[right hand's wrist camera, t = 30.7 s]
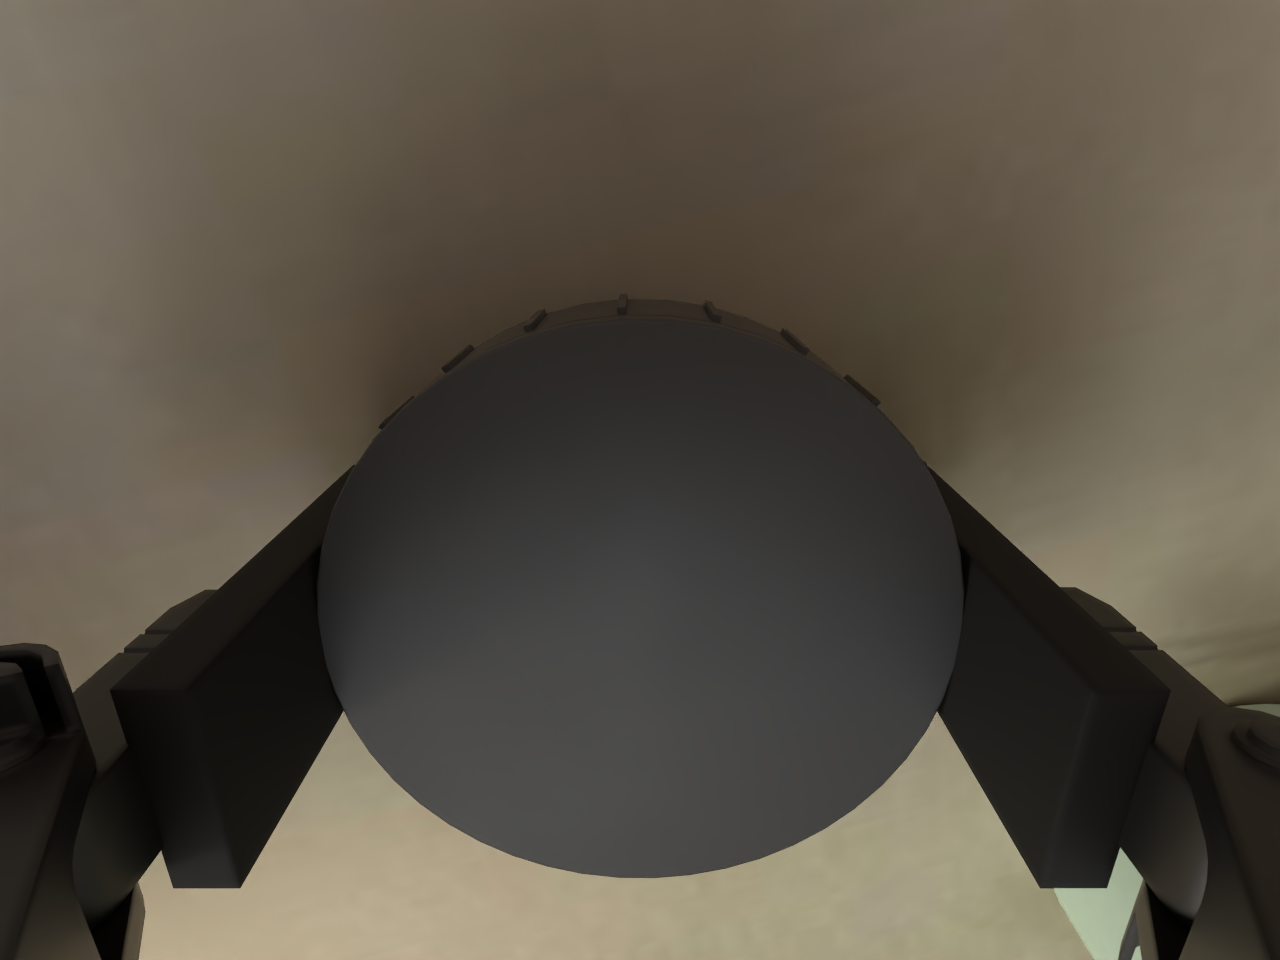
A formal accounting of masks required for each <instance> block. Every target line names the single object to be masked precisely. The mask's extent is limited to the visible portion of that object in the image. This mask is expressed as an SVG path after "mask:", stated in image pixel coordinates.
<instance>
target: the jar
mask: <svg viewBox="0 0 1280 960" xmlns="http://www.w3.org/2000/svg"><path fill="white" fill-rule="evenodd" d="M1234 707H1238V708H1244V709H1251V710H1258V711H1263V712H1266V713H1269V714H1272V715H1275V716H1278V717H1280V704H1253V705H1240V706H1234ZM1142 881H1143V877H1142V876H1141V875H1140V873H1139V872H1138V871H1137V869H1136V868H1135V866H1134V865H1133V864H1132V862H1131V861H1130V860H1129V858H1128V857H1127V856H1126V854H1125V853H1124V852H1123V850H1122V849H1121V848H1120V850H1119V853H1118V856H1117V859H1116V862H1115V865H1114V868H1113V871H1112V875H1111V878H1110V881H1109V884H1108V887H1107V888H1053V889H1054V892H1055V894H1056V896H1057V899H1058V901H1059V903H1060V905H1061V906H1062V908H1063V910H1064V911H1065V913H1066V915H1067V916H1068V918H1069V920H1070V921H1071V923H1072V924H1073V926H1074V928H1075V929H1076V931H1077V933H1078V934H1079V936H1080V938H1081V939H1082V941H1083V943H1084V944H1085V946H1086V948H1087V949H1088V951H1089V952H1090V954H1091V956H1092V957H1093V959H1094V960H1118V957H1119V951H1120V945H1121V941H1122V939H1123V936H1124V933H1125V930H1126V927H1127V924H1128V921H1129V918H1130V915H1131V913H1132V910H1133V907H1134V904H1135V901H1136V898H1137V895H1138V892H1139V889H1140V887H1141V884H1142ZM1131 960H1142V957H1141V950H1140V946H1138V947H1136V948H1135V951H1134V954H1133V957H1132V959H1131Z"/></svg>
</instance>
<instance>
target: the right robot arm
mask: <svg viewBox="0 0 1280 960" xmlns="http://www.w3.org/2000/svg"><path fill="white" fill-rule="evenodd" d="M354 467H355V465H353V466H352V467H351V468H350V469H349V470H348V471H347V472H345V473H344V474H343V475H342V476H341V477H340V478H339V479H338V480H337V481H336V482H335V483H334V484H332V485H331V486H330V487H329V488H328V489H327V490H326V491H325V492H324V493H323V494H322V495H320V496H319V497H318V498H317V499H316V500H315V501H314V502H313V503H312V504H311V505H310V506H309V507H307V508H306V509H305V510H304V511H303V512H302V513H301V514H300V515H299V516H298V517H297V518H295V519H294V520H293V521H292V522H291V523H290V524H289V525H288V526H287V527H286V528H285V529H284V530H282V531H281V532H280V533H279V534H278V535H277V536H276V537H275V538H274V539H273V540H272V541H270V542H269V543H268V544H267V545H266V546H265V547H264V548H263V549H262V550H261V551H260V552H259V553H257V554H256V555H255V556H254V557H253V558H252V559H251V560H250V561H249V562H248V563H247V564H245V565H244V566H243V567H242V568H241V569H240V570H239V571H238V572H237V573H236V574H235V575H234V576H232V577H231V578H230V579H229V580H228V581H227V582H226V583H225V584H224V585H223V586H222V587H220V588H219V589H218V590H204V591H202V592H201V593H199V594H197V595H195V596H193V597H191V598H189V599H187V600H185V601H183V602H181V603H179V604H178V605H176V606H174V607H172V608H170V609H169V610H168V611H167V612H165V613H164V614H163V615H162V616H161V617H160V618H159V619H157V620H156V621H155V622H154V623H153V624H152V625H150V626H149V627H148V628H147V629H146V630H145V634H140V635H139V636H138V637H137V638H135V639H134V640H133V641H132V642H131V643H130V644H129V645H127V646H126V647H125V648H124V653H118V654H117V655H116V656H115V657H114V658H112V659H111V660H110V661H109V662H108V663H107V664H105V665H104V666H103V667H102V668H101V669H100V670H98V671H97V672H96V673H95V674H94V675H93V676H92V677H90V678H89V679H88V680H87V681H86V682H85V683H83V684H82V685H81V686H80V687H79V688H78V689H77V690H75V691H74V692H73V693H72V690H71V687H70V684H69V682H68V679H67V676H66V673H65V670H64V667H63V664H62V661H61V658H60V656H59V653H58V651H56V650H54V649H52V648H51V647H49V646H47V645H43V644H30V643H20V644H12V645H5V646H0V960H138V959H139V952H140V945H141V939H142V932H143V925H144V918H145V907H144V900H143V895H142V892H141V889H140V887H139V884H138V881H139V879H140V878H141V877H142V875H143V874H144V873H145V871H146V870H147V869H148V867H149V866H150V864H151V863H152V862H153V860H154V859H155V858H156V856H157V855H158V854H159V852H160V851H162V854H163V857H164V860H165V863H166V867H167V870H168V873H169V876H170V879H171V882H172V885H173V888H241V886H242V884H243V882H244V881H245V879H246V877H247V876H248V874H249V872H250V870H251V869H252V867H253V865H254V864H255V862H256V860H257V858H258V857H259V855H260V853H261V852H262V850H263V848H264V846H265V845H266V843H267V841H268V840H269V838H270V836H271V834H272V833H273V831H274V829H275V828H276V826H277V824H278V822H279V821H280V819H281V817H282V815H283V814H284V812H285V810H286V809H287V807H288V805H289V803H290V802H291V800H292V798H293V797H294V795H295V793H296V791H297V790H298V788H299V786H300V785H301V783H302V781H303V779H304V778H305V776H306V774H307V773H308V771H309V769H310V767H311V766H312V764H313V762H314V761H315V759H316V757H317V755H318V754H319V752H320V750H321V748H322V747H323V745H324V743H325V742H326V740H327V738H328V736H329V735H330V733H331V731H332V730H333V728H334V726H335V724H336V723H337V721H338V719H339V718H340V716H341V714H342V712H343V711H344V710H343V708H342V706H341V704H340V702H339V699H338V697H337V695H336V693H335V691H334V688H333V685H332V682H331V679H330V676H329V673H328V670H327V666H326V661H325V656H324V651H323V645H322V640H321V635H320V629H319V624H318V618H317V577H318V570H319V563H320V556H321V548H322V544H323V541H324V537H325V534H326V531H327V527H328V524H329V521H330V517H331V514H332V511H333V508H334V506H335V504H336V502H337V500H338V498H339V495H340V493H341V491H342V489H343V487H344V485H345V483H346V481H347V479H348V477H349V475H350V473H351V471H352V470H353V468H354ZM928 471H929V472H930V474H931V476H932V477H933V479H934V480H935V482H936V485H937V487H938V489H939V491H940V494H941V496H942V498H943V501H944V503H945V505H946V507H947V510H948V512H949V514H950V516H951V520H952V524H953V527H954V531H955V535H956V539H957V542H958V546H959V550H960V554H961V562H962V572H963V582H964V592H965V594H964V613H963V622H962V628H961V634H960V639H959V644H958V650H957V655H956V660H955V665H954V670H953V673H952V676H951V679H950V682H949V684H948V687H947V690H946V693H945V695H944V698H943V700H942V702H941V704H940V706H939V708H938V710H937V712H938V713H939V715H940V717H941V719H942V720H943V722H944V724H945V725H946V727H947V729H948V731H949V732H950V734H951V736H952V737H953V739H954V741H955V743H956V744H957V746H958V748H959V749H960V751H961V753H962V755H963V756H964V758H965V760H966V761H967V763H968V765H969V767H970V768H971V770H972V772H973V773H974V775H975V777H976V779H977V780H978V782H979V784H980V785H981V787H982V789H983V791H984V792H985V794H986V796H987V798H988V799H989V801H990V803H991V804H992V806H993V808H994V810H995V811H996V813H997V815H998V816H999V818H1000V820H1001V822H1002V823H1003V825H1004V827H1005V828H1006V830H1007V832H1008V834H1009V835H1010V837H1011V839H1012V840H1013V842H1014V844H1015V846H1016V847H1017V849H1018V851H1019V852H1020V854H1021V856H1022V858H1023V859H1024V861H1025V863H1026V864H1027V866H1028V868H1029V870H1030V871H1031V873H1032V875H1033V877H1034V878H1035V880H1036V882H1037V883H1038V885H1039V887H1040V888H1107V887H1108V884H1109V881H1110V878H1111V875H1112V871H1113V868H1114V865H1115V862H1116V859H1117V856H1118V853H1119V850H1120V848H1121V849H1122V850H1123V852H1124V853H1125V854H1126V856H1127V857H1128V858H1129V860H1130V861H1131V862H1132V864H1133V865H1134V866H1135V868H1136V869H1137V871H1138V872H1139V873H1140V875H1141V876H1142V877H1143V881H1142V884H1141V887H1140V889H1139V892H1138V895H1137V898H1136V901H1135V904H1134V907H1133V910H1132V913H1131V915H1130V918H1129V921H1128V924H1127V927H1126V930H1125V933H1124V936H1123V939H1122V941H1121V945H1120V951H1119V957H1118V960H1131V959H1132V957H1133V954H1134V951H1135V948H1136V947H1138V946H1140V950H1141V957H1142V960H1280V717H1278V716H1275V715H1272V714H1269V713H1266V712H1263V711H1258V710H1251V709H1244V708H1238V707H1228V706H1227V705H1226V704H1225V703H1223V702H1222V701H1221V700H1220V699H1219V698H1218V697H1216V696H1215V695H1214V694H1213V693H1212V692H1211V691H1210V690H1208V689H1207V688H1206V687H1205V686H1204V685H1203V684H1201V683H1200V682H1199V681H1198V680H1197V679H1196V678H1194V677H1193V676H1192V675H1191V674H1190V673H1189V672H1187V671H1186V670H1185V669H1184V668H1183V667H1182V666H1180V665H1179V664H1178V663H1177V662H1176V661H1175V660H1173V659H1172V658H1171V657H1170V656H1169V655H1168V654H1166V653H1165V652H1164V651H1163V650H1158V649H1157V645H1156V644H1155V643H1154V642H1152V641H1151V640H1150V639H1149V638H1148V637H1147V636H1145V635H1144V634H1143V633H1142V632H1137V631H1136V627H1135V626H1134V625H1133V624H1132V623H1130V622H1129V621H1128V620H1127V619H1126V618H1125V617H1123V616H1122V615H1121V614H1120V613H1119V612H1118V611H1116V610H1115V609H1114V608H1113V607H1112V606H1110V605H1108V604H1106V603H1105V602H1103V601H1101V600H1099V599H1097V598H1095V597H1093V596H1091V595H1089V594H1087V593H1085V592H1083V591H1081V590H1080V589H1078V588H1076V587H1059V586H1058V585H1057V584H1056V583H1055V582H1054V581H1052V580H1051V579H1050V578H1049V577H1048V576H1047V575H1046V574H1045V573H1044V572H1043V571H1042V570H1040V569H1039V568H1038V567H1037V566H1036V565H1035V564H1034V563H1033V562H1032V561H1031V560H1030V559H1029V558H1027V557H1026V556H1025V555H1024V554H1023V553H1022V552H1021V551H1020V550H1019V549H1018V548H1017V547H1015V546H1014V545H1013V544H1012V543H1011V542H1010V541H1009V540H1008V539H1007V538H1006V537H1005V536H1003V535H1002V534H1001V533H1000V532H999V531H998V530H997V529H996V528H995V527H994V526H993V525H992V524H990V523H989V522H988V521H987V520H986V519H985V518H984V517H983V516H982V515H981V514H980V513H978V512H977V511H976V510H975V509H974V508H973V507H972V506H971V505H970V504H969V503H968V502H967V501H965V500H964V499H963V498H962V497H961V496H960V495H959V494H958V493H957V492H956V491H955V490H953V489H952V488H951V487H950V486H949V485H948V484H947V483H946V482H945V481H944V480H943V479H942V478H940V477H939V476H938V475H937V474H936V473H935V472H934V471H933V470H932V469H931V468H930V467H929V470H928Z"/></svg>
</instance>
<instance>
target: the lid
mask: <svg viewBox="0 0 1280 960" xmlns="http://www.w3.org/2000/svg"><path fill="white" fill-rule="evenodd" d="M442 370H443V371H444V372H443V373H442V374H441V375H440V376H439V377H438V378H436V379H435V380H434V381H433V382H432V383H431V384H429V385H428V386H427V387H426V388H425V389H424V390H423V391H421V392H420V393H419V394H418V395H417V396H416V397H414V396H412V397H411V398H410V399H409V400H408V401H406V402H405V403H404V404H403V405H402V406H401V407H399V408H398V409H397V410H396V411H395V412H394V413H392V414H391V415H390V416H389V417H388V418H387V419H385V420H384V421H383V422H382V423H381V424H380V426H379V428H380V429H381V432H380V433H379V434H378V435H377V436H376V437H375V438H374V439H373V441H372V442H371V444H370V445H369V447H368V448H367V449H366V451H365V452H364V454H363V455H362V457H361V458H360V460H359V461H358V462H357V464H356V465H355V467H354V468H353V470H352V471H351V473H350V475H349V477H348V479H347V481H346V483H345V485H344V487H343V489H342V491H341V493H340V495H339V498H338V500H337V502H336V504H335V506H334V508H333V511H332V514H331V517H330V521H329V524H328V527H327V531H326V534H325V537H324V541H323V544H322V548H321V556H320V563H319V570H318V577H317V618H318V624H319V629H320V635H321V640H322V645H323V651H324V656H325V661H326V666H327V670H328V673H329V676H330V679H331V682H332V685H333V688H334V691H335V693H336V695H337V697H338V699H339V702H340V704H341V706H342V708H343V710H344V712H345V714H346V716H347V718H348V720H349V722H350V724H351V725H352V727H353V728H354V730H355V731H356V733H357V734H358V736H359V737H360V739H361V740H362V742H363V743H364V745H365V746H366V748H367V749H368V751H369V752H370V753H371V755H372V756H373V757H374V758H375V759H376V760H377V762H378V763H379V764H380V765H381V766H382V767H383V768H384V770H385V771H386V772H387V773H388V774H389V775H390V776H391V778H392V779H393V780H394V781H395V782H396V783H398V784H399V785H400V786H401V787H402V788H403V789H404V790H405V791H406V792H408V793H409V794H410V795H411V796H412V797H413V798H414V799H415V800H416V801H418V802H419V803H420V804H421V805H423V806H424V807H425V808H427V809H428V810H430V811H431V812H432V813H434V814H435V815H437V816H438V817H439V818H441V819H442V820H444V821H445V822H446V823H448V824H449V825H451V826H453V827H455V828H457V829H458V830H460V831H462V832H464V833H466V834H467V835H469V836H471V837H473V838H474V839H476V840H478V841H480V842H482V843H484V844H487V845H489V846H491V847H494V848H496V849H498V850H501V851H503V852H505V853H508V854H510V855H512V856H516V857H519V858H522V859H525V860H528V861H532V862H535V863H538V864H541V865H544V866H548V867H553V868H557V869H562V870H567V871H572V872H577V873H581V874H590V875H599V876H608V877H618V878H660V877H672V876H683V875H693V874H698V873H703V872H709V871H714V870H720V869H725V868H729V867H732V866H736V865H739V864H743V863H746V862H750V861H753V860H757V859H760V858H763V857H765V856H768V855H770V854H773V853H775V852H778V851H780V850H783V849H785V848H788V847H790V846H793V845H795V844H797V843H799V842H801V841H802V840H804V839H806V838H808V837H810V836H812V835H814V834H816V833H818V832H820V831H821V830H823V829H825V828H827V827H828V826H830V825H831V824H833V823H834V822H836V821H837V820H839V819H840V818H842V817H843V816H844V815H846V814H847V813H849V812H850V811H852V810H853V809H855V808H856V807H857V806H858V805H860V804H861V803H862V802H863V801H864V800H865V799H867V798H868V797H869V796H870V795H871V794H872V793H874V792H875V791H876V790H877V789H878V788H879V787H881V786H882V785H883V784H884V783H885V781H886V780H887V779H888V778H889V777H890V776H891V775H892V774H893V773H894V772H895V771H896V770H897V768H898V767H899V766H900V765H901V764H902V763H903V762H904V761H905V760H906V758H907V757H908V756H909V754H910V753H911V751H912V750H913V749H914V747H915V746H916V744H917V743H918V742H919V740H920V739H921V737H922V736H923V735H924V733H925V732H926V730H927V729H928V727H929V725H930V723H931V721H932V719H933V717H934V715H935V713H936V712H937V710H938V708H939V706H940V704H941V702H942V700H943V698H944V695H945V693H946V690H947V687H948V684H949V682H950V679H951V676H952V673H953V670H954V665H955V660H956V655H957V650H958V644H959V639H960V634H961V628H962V622H963V613H964V594H965V592H964V582H963V572H962V562H961V554H960V550H959V546H958V542H957V539H956V535H955V531H954V527H953V524H952V520H951V516H950V514H949V512H948V510H947V507H946V505H945V503H944V501H943V498H942V496H941V494H940V491H939V489H938V487H937V485H936V482H935V480H934V479H933V477H932V476H931V474H930V472H929V471H928V470H929V467H928V466H927V464H926V463H925V462H924V461H923V460H922V459H921V458H920V457H919V455H918V454H917V452H916V451H915V449H914V447H913V446H912V445H911V444H910V442H909V441H908V440H907V439H906V438H905V437H904V436H903V434H902V433H901V432H900V431H899V430H898V429H897V428H896V427H895V425H894V424H893V423H892V422H891V421H890V420H889V419H888V417H887V416H886V415H885V414H884V413H883V412H882V411H881V410H879V409H878V408H877V407H876V406H878V405H879V404H880V401H879V400H878V399H877V398H876V397H874V396H873V395H872V394H871V393H870V392H868V391H867V390H866V389H865V388H864V387H862V386H861V385H860V384H859V383H858V382H856V381H855V380H854V379H853V378H852V377H850V376H849V375H848V374H847V375H846V376H845V377H844V378H843V377H841V376H840V375H839V374H838V373H837V372H836V371H834V370H833V369H832V368H831V367H830V366H828V365H827V364H826V363H825V362H824V361H823V360H821V359H820V358H819V357H818V356H817V355H815V354H814V353H812V352H811V351H809V348H807V347H806V346H805V345H804V344H803V343H802V342H801V341H799V340H798V339H797V338H796V337H795V336H794V335H793V334H791V333H790V332H789V331H788V330H786V329H784V328H783V329H782V331H781V332H780V333H779V332H777V331H775V330H773V329H770V328H768V327H766V326H764V325H761V324H759V323H757V322H755V321H752V320H750V319H748V318H746V317H742V316H739V315H735V314H732V313H729V312H725V311H722V310H718V309H716V307H715V306H714V305H713V303H712V302H710V301H706V300H705V301H704V305H696V304H689V303H683V302H676V301H669V300H635V299H628V294H620V298H619V300H615V301H606V302H598V303H590V304H582V305H578V306H574V307H571V308H567V309H563V310H559V311H555V312H551V313H548V314H546V312H545V309H542V310H539V311H537V312H536V313H535V315H534V316H533V317H532V318H531V319H530V320H529V321H527V322H524V323H522V324H519V325H517V326H514V327H512V328H510V329H507V330H505V331H503V332H502V333H500V334H498V335H497V336H495V337H493V338H491V339H490V340H488V341H486V342H485V343H483V344H481V345H479V346H478V347H476V348H473V346H472V345H471V344H470V345H469V346H467V347H466V348H464V349H463V350H462V351H461V352H460V353H458V354H457V355H456V356H455V357H454V358H452V359H451V360H450V361H449V362H448V363H446V364H445V365H444V366H443V367H442Z"/></svg>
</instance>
